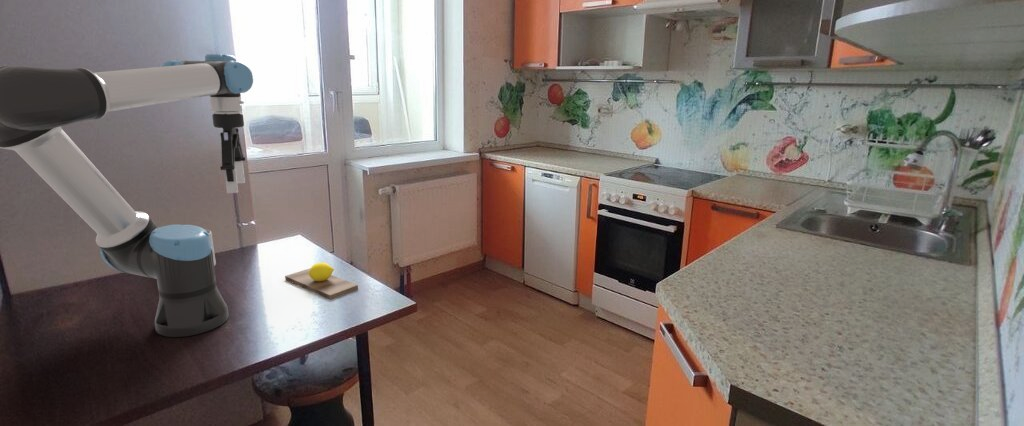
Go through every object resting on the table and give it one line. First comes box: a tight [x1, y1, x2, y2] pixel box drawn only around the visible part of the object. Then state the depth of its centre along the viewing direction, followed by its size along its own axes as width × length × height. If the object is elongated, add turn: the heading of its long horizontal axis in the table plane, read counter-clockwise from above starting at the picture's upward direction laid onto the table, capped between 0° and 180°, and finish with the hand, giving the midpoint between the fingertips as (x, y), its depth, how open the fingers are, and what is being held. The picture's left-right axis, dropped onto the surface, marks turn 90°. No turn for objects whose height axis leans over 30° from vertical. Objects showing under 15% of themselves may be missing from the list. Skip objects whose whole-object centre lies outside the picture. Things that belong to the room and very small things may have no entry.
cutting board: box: [284, 267, 359, 300], centre depth 148 cm, size 22×9×1 cm, turn 54°
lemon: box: [308, 262, 335, 282], centre depth 147 cm, size 7×5×5 cm
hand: (236, 187), depth 147 cm, fingers open, 13 cm apart
